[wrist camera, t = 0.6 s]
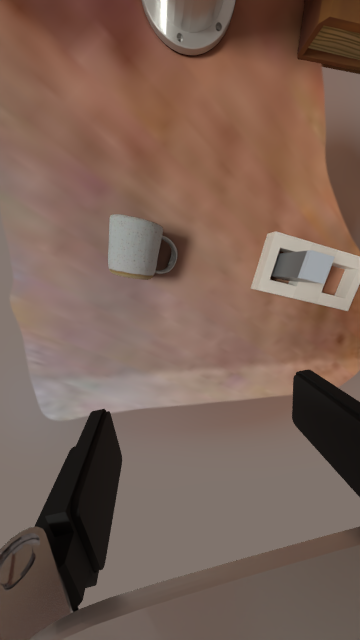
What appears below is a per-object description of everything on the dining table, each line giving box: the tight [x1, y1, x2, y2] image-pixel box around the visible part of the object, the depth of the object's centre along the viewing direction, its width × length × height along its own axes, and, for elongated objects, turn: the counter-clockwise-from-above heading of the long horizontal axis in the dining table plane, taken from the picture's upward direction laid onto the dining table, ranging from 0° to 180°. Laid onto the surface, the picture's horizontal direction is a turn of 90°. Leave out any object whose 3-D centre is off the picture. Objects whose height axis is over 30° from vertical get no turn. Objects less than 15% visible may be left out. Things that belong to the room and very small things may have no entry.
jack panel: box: [251, 232, 360, 311], centre depth 37 cm, size 10×20×2 cm, turn 77°
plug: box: [271, 250, 335, 284], centre depth 33 cm, size 4×4×9 cm
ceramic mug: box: [108, 214, 177, 280], centre depth 30 cm, size 11×8×8 cm
